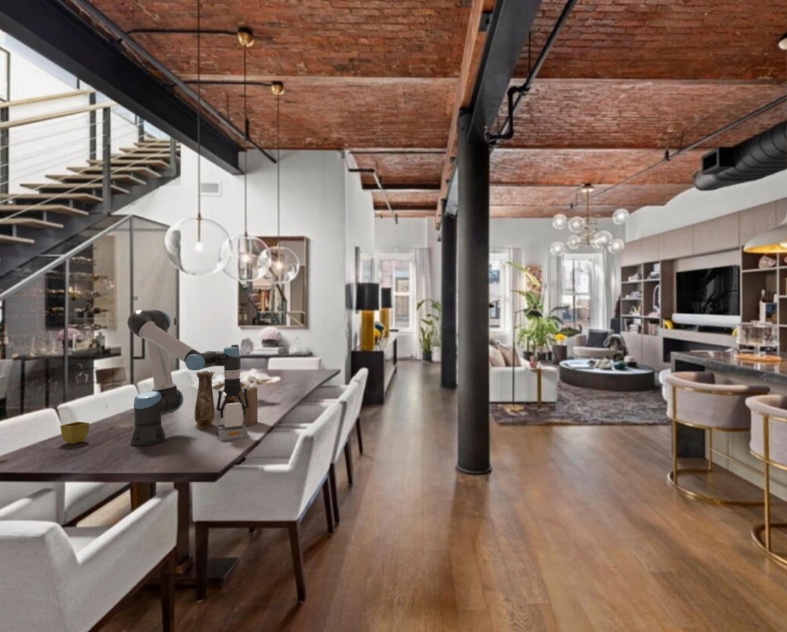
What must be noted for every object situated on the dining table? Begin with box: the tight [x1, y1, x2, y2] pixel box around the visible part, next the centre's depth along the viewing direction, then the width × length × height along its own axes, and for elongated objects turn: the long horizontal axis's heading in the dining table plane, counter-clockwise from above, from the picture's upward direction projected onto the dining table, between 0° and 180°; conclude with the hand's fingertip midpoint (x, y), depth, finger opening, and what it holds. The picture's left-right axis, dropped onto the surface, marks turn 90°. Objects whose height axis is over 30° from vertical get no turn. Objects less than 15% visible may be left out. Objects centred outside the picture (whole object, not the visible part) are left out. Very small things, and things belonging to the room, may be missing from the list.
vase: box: [194, 370, 216, 429], centre depth 251 cm, size 10×11×30 cm
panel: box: [224, 402, 242, 427], centre depth 230 cm, size 8×4×11 cm, turn 116°
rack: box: [217, 410, 249, 442], centre depth 233 cm, size 13×16×12 cm
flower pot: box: [59, 421, 90, 445], centre depth 223 cm, size 9×9×9 cm
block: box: [233, 386, 259, 427], centre depth 256 cm, size 10×10×20 cm
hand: (233, 423), depth 230 cm, fingers closed on panel, 8 cm apart
